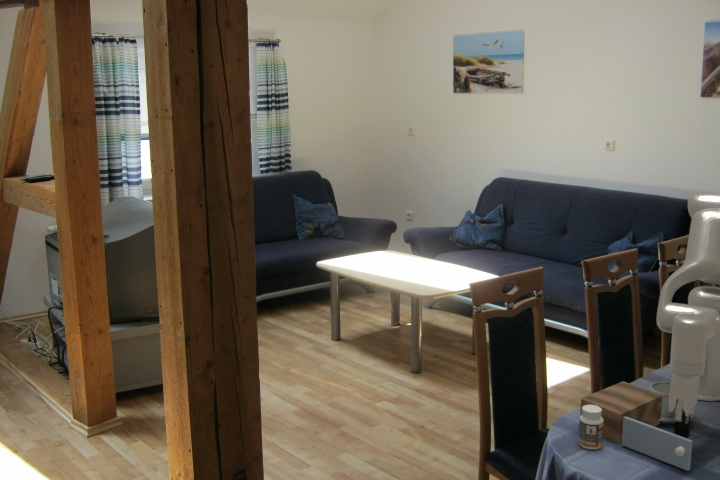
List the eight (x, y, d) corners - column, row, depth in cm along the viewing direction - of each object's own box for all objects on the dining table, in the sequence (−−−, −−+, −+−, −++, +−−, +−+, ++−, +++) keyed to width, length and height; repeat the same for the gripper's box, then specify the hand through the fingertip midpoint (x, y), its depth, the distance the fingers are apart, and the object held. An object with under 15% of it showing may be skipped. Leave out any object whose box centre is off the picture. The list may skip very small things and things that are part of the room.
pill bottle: (603, 451, 182) (605, 414, 180) (579, 449, 184) (581, 412, 181) (601, 440, 188) (602, 404, 186) (577, 438, 189) (579, 402, 187)
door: (618, 446, 184) (619, 419, 182) (623, 443, 185) (625, 416, 184) (684, 473, 171) (687, 443, 169) (690, 469, 172) (692, 440, 171)
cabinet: (621, 408, 206) (623, 381, 204) (660, 423, 196) (662, 395, 194) (579, 426, 195) (581, 398, 194) (618, 443, 186) (620, 414, 184)
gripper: (678, 352, 184) (673, 420, 188) (661, 373, 172) (657, 444, 177) (711, 358, 180) (705, 427, 184) (696, 380, 168) (690, 453, 172)
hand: (681, 435), depth 180 cm, fingers closed
